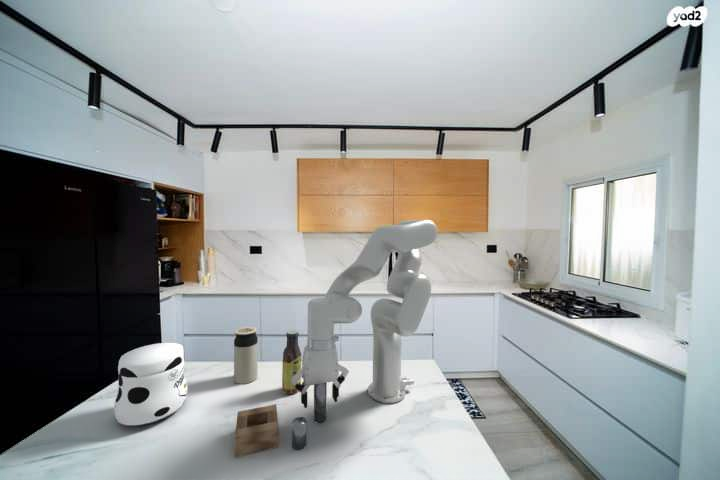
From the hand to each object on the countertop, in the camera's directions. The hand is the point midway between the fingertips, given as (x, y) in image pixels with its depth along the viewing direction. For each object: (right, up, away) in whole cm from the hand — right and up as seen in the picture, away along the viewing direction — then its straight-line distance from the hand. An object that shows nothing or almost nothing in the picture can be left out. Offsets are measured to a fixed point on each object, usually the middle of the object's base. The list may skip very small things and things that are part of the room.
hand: (320, 402), depth 81 cm
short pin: (-4, -5, -10) cm, 12 cm away
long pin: (0, -5, 0) cm, 5 cm away
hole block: (-15, -5, -8) cm, 18 cm away
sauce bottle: (-12, -5, +15) cm, 20 cm away
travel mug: (-30, -4, +22) cm, 38 cm away
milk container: (-50, -5, +2) cm, 50 cm away
